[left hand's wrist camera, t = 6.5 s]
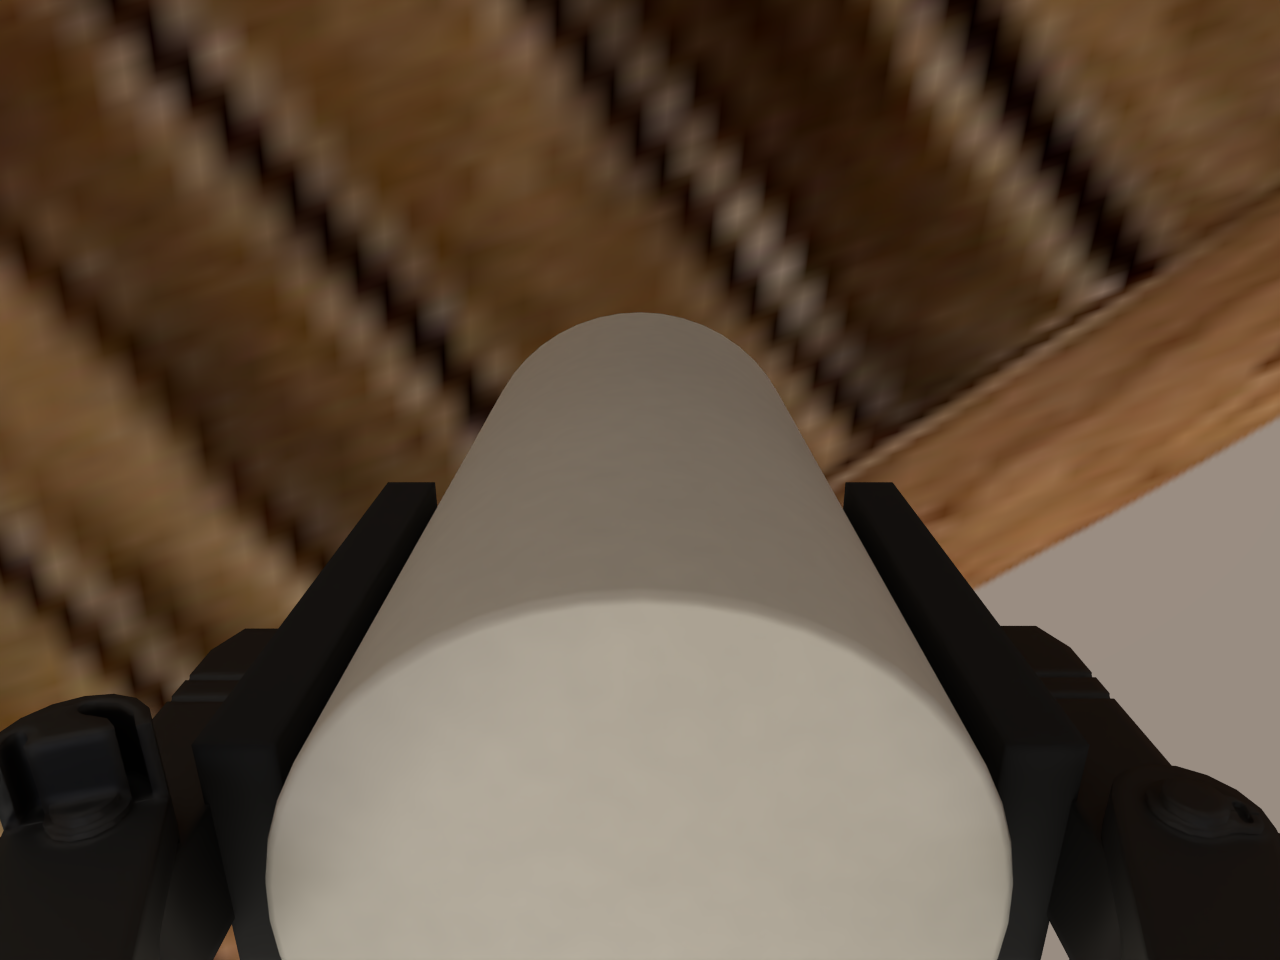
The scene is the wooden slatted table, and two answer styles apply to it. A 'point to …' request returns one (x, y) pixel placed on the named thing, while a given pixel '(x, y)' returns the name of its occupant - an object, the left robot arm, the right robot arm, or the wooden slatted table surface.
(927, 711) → the canister
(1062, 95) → the wooden slatted table surface
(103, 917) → the left robot arm
